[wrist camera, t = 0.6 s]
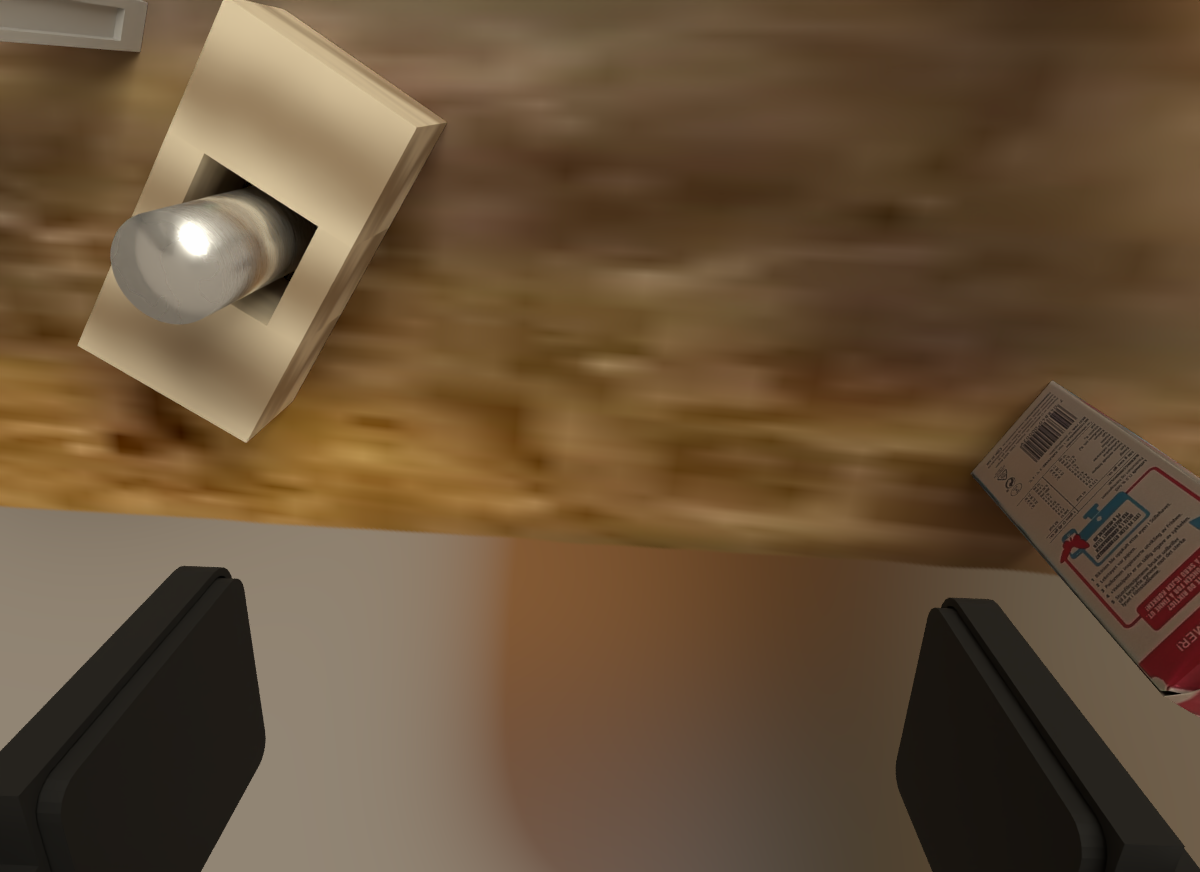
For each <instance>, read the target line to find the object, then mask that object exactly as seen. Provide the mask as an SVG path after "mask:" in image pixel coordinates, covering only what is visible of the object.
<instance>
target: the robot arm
mask: <svg viewBox="0 0 1200 872" xmlns="http://www.w3.org/2000/svg"><path fill="white" fill-rule="evenodd" d="M265 739H266V738H265V729H264V722H263V715H262V708H261V701H260V694H259V687H258V681H257V674H256V667H255V660H254V654H253V647H252V640H251V634H250V626H249V619H248V612H247V606H246V599H245V592H244V587H243V584H242V582H241V581H240V580H239V579H232V578H231V575H230V573H229V571H228V570H227V569H225V568H221V567H197V566H182V567H179V568H178V569H176V570H175V571H174V572H173V573H172V574H171V575H170V576H169V577H168V578H167V579H166V580H165V581H164V582H163V583H162V584H161V585H160V586H159V587H158V589H156V590H155V592H154V593H153V594H152V595H151V596H150V597H149V598H148V599H147V600H146V601H145V602H144V603H143V604H142V605H141V606H140V607H139V608H138V609H137V610H136V611H135V612H134V613H133V614H132V615H131V616H130V617H129V619H128V620H127V621H126V622H125V623H124V624H123V625H122V626H121V627H120V628H119V629H118V630H117V631H116V632H115V633H114V634H113V635H112V636H111V637H110V638H109V639H108V640H107V641H106V642H105V643H104V644H103V646H101V648H100V649H99V650H98V651H97V652H96V653H95V654H94V655H93V656H92V657H91V658H90V659H89V660H88V661H87V662H86V663H85V664H84V665H83V666H82V667H81V668H80V669H79V670H78V671H77V672H76V673H75V674H74V675H73V677H72V678H71V679H70V680H69V681H68V682H67V683H66V684H65V685H64V686H63V687H62V688H61V689H60V690H59V691H58V692H57V693H56V694H55V695H54V696H53V697H52V698H51V699H50V700H49V701H48V702H47V704H46V705H45V706H44V707H43V708H42V709H41V710H40V711H39V712H38V713H37V714H36V715H35V716H34V717H33V718H32V719H31V720H30V721H29V722H28V723H27V724H26V725H25V726H24V727H23V728H22V729H21V730H20V731H19V732H18V734H17V735H16V736H15V737H14V738H13V739H12V740H11V741H10V742H9V743H8V744H7V745H6V746H5V747H4V748H3V749H2V750H1V751H0V872H201V870H202V869H203V867H204V865H205V863H206V861H207V859H208V857H209V856H210V854H211V852H212V850H213V848H214V847H215V845H216V843H217V841H218V839H219V837H220V836H221V834H222V832H223V830H224V828H225V827H226V824H227V823H228V821H229V819H230V817H231V816H232V814H233V812H234V810H235V808H236V806H237V805H238V803H239V801H240V799H241V797H242V796H243V794H244V792H245V790H246V788H247V786H248V785H249V783H250V781H251V779H252V777H253V776H254V774H255V772H256V770H257V768H258V766H259V764H260V762H261V760H262V756H263V753H264V748H265ZM896 780H897V785H898V789H899V792H900V794H901V797H902V799H903V801H904V804H905V806H906V809H907V811H908V814H909V816H910V818H911V821H912V823H913V826H914V828H915V830H916V833H917V835H918V838H919V840H920V843H921V845H922V847H923V850H924V852H925V855H926V857H927V859H928V862H929V864H930V867H931V869H932V871H933V872H1200V869H1199V867H1198V866H1197V865H1196V863H1195V862H1194V861H1193V859H1192V858H1191V857H1190V855H1189V854H1188V853H1187V852H1186V850H1185V849H1184V847H1185V846H1184V845H1183V844H1182V842H1181V841H1180V840H1179V838H1178V837H1177V836H1176V835H1175V833H1174V832H1173V831H1172V829H1171V828H1170V827H1169V826H1168V824H1167V823H1166V822H1165V820H1164V819H1163V818H1162V817H1161V815H1160V814H1159V813H1158V811H1157V810H1156V809H1155V807H1154V806H1153V805H1152V803H1151V802H1150V801H1149V800H1148V798H1147V797H1146V796H1145V795H1144V793H1143V792H1142V791H1141V789H1140V788H1139V787H1138V785H1137V784H1136V783H1135V781H1134V780H1133V779H1132V778H1131V776H1130V775H1129V774H1128V772H1127V771H1126V770H1125V769H1124V767H1123V766H1122V765H1121V763H1120V762H1119V761H1118V759H1117V758H1116V757H1115V756H1114V754H1113V753H1112V752H1111V751H1110V749H1109V748H1108V747H1107V745H1106V744H1105V743H1104V741H1103V740H1102V739H1101V737H1100V736H1099V735H1098V734H1097V732H1096V731H1095V730H1094V728H1093V727H1092V726H1091V725H1090V723H1089V722H1088V721H1087V719H1086V718H1085V717H1084V716H1083V715H1082V713H1081V712H1080V710H1079V709H1078V708H1077V706H1076V705H1075V704H1074V702H1073V701H1072V700H1071V699H1070V697H1069V696H1068V695H1067V693H1066V692H1065V691H1064V690H1063V688H1062V687H1061V686H1060V684H1059V683H1058V682H1057V680H1056V679H1055V678H1054V677H1053V675H1052V674H1051V673H1050V671H1049V670H1048V669H1047V668H1046V666H1045V665H1044V664H1043V662H1042V661H1041V660H1040V658H1039V657H1038V656H1037V655H1036V653H1035V652H1034V651H1033V649H1032V648H1031V647H1030V646H1029V644H1028V643H1027V642H1026V640H1025V639H1024V638H1023V636H1022V635H1021V634H1020V633H1019V631H1018V630H1017V629H1016V627H1015V626H1014V625H1013V624H1012V622H1011V621H1010V620H1009V618H1008V617H1007V616H1006V614H1005V613H1004V612H1003V611H1002V609H1001V608H1000V607H999V605H998V604H997V603H995V602H994V601H993V600H989V599H969V598H948V599H946V600H945V601H944V603H943V604H942V607H941V608H933V609H931V611H930V613H929V615H928V618H927V623H926V628H925V632H924V637H923V642H922V646H921V650H920V655H919V660H918V664H917V669H916V673H915V678H914V683H913V687H912V692H911V696H910V701H909V705H908V710H907V715H906V719H905V724H904V729H903V733H902V738H901V742H900V747H899V751H898V756H897V761H896Z"/></svg>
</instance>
